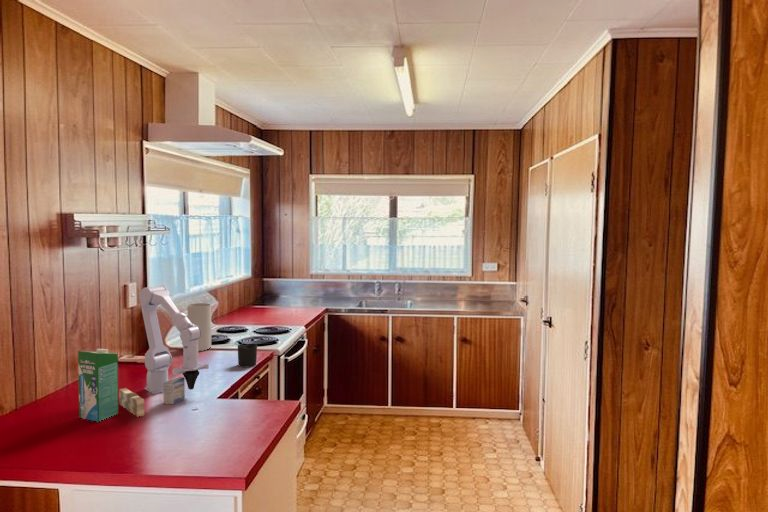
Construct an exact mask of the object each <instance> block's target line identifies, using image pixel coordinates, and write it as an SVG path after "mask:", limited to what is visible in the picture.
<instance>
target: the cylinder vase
mask: <svg viewBox="0 0 768 512" xmlns="http://www.w3.org/2000/svg"><path fill="white" fill-rule="evenodd" d="M187 318H188V319H189V320H190V321H191V323H192V324H194V325H197V326H199V328H200V329H201V337H200V338H199V339H198V352H204V350H206V351H208V350H207V349H209V348H210V347H211V348H212V304H211V303H207V302H204V303H203V302H196V303H189V304H187ZM211 348H210V349H211ZM210 349H209V350H210Z"/></svg>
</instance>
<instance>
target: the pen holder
mask: <svg viewBox="0 0 768 512" xmlns="http://www.w3.org/2000/svg"><path fill="white" fill-rule="evenodd" d="M257 355H258V345H257V344H256V343H249V344H238V345H237V358H238V359H237V360H238V361H237V363H238V366H239V365H240V366H252V367H254V366H253V365H255V366H256V365H257V359H258V357H257ZM240 366H239V367H240Z"/></svg>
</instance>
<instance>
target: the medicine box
mask: <svg viewBox="0 0 768 512" xmlns="http://www.w3.org/2000/svg"><path fill="white" fill-rule="evenodd" d="M162 393H163V404H164V405H165V404H166V405H175V404H177V403H178V402H180V401H181V400H184V399H185V398H186V397H185V396H186V395H185V377H184V376H182V377H181V376H174V377H173V378H171V379H168V381H166V382H164V383H163V392H162Z"/></svg>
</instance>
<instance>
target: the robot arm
mask: <svg viewBox="0 0 768 512" xmlns="http://www.w3.org/2000/svg"><path fill="white" fill-rule="evenodd" d="M170 294H171V293H170V290H168V288H167V287H166V286H165V285H157V286H149V287H142V289H141V290H140V292H139V294H138V296H139V297H138V298H139V301H140V306H141V307H140V309H141V313H142V314H141V315H142V319H143V322H144V323H143V324H144V328H145V333H146V338H147V342H148V350H147V351H146V353H144V357H145V358H144V359H145V360H144V366H145V368H146V370H147V373H146V386H145V387H144V390H146V391H148V392H149V393H150V394H153V395H155V394H159V393H160V394H161V393H164V392H163V383H164V382H166V381H168V380H169V369H170V366H171V365H172V363H173V356H172V353H171V352H170V348H169V347H167V346H165V345H164V341H163V338H162V333H161V329H160V328H161V327H160V323H159V317H158V314H157V313H158V312H157V308H158V307H159V306H161V307H162V308H163V309H164V310H165V311H166V312H167V313H168V314H169V316H171V322H172V324H173V325H174V326H175V328H176V329H177V330H178V332H179V333H180V334H179V338H180V340H181V345H182V352H183V354H182V355H183V356H182V358H183V359H182V360H183V362H182V364H183V366H180V367H177V368H173V369H172V371H171V372H172V375H173V376H176V375H177V376H178V375H180V374H182V375H183V378H184V380H185V381H186V382H185V383H186V385H187V389H188V390H190V391H191V390H194V389H195V385H196V381H197V379H198V376H199V375H200V371H199V370H204V369H206V370H207V369H209V363H206V362H204V363H199V351H198V339H199V338H200V337H201V329H200V328H199V326H197V325H194V324H192V323H191V321H190V320H189V319H188V315H187V314H186V313H184V312H180V311H179V309H178V308H177V306H176V305H175V303H174V301H173V300H172V298H171V297H170Z"/></svg>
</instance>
